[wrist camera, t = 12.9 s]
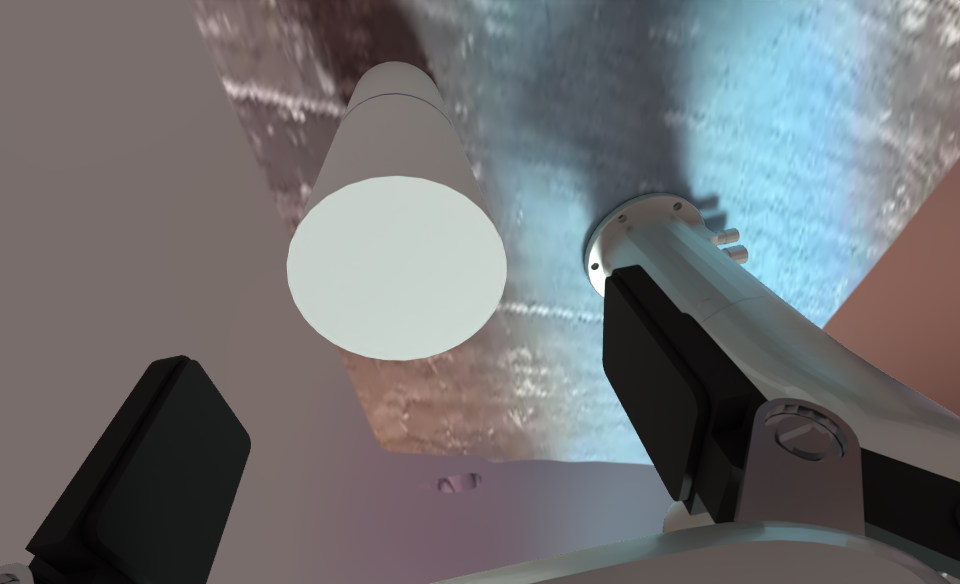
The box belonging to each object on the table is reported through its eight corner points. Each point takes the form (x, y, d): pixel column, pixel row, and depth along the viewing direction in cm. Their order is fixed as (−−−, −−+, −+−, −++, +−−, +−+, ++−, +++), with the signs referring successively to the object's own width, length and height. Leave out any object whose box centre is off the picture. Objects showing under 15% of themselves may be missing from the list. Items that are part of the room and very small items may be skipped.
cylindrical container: (461, 113, 36) (547, 276, 16) (400, 173, 38) (405, 388, 18) (395, 38, 32) (395, 122, 12) (332, 109, 34) (238, 284, 14)
